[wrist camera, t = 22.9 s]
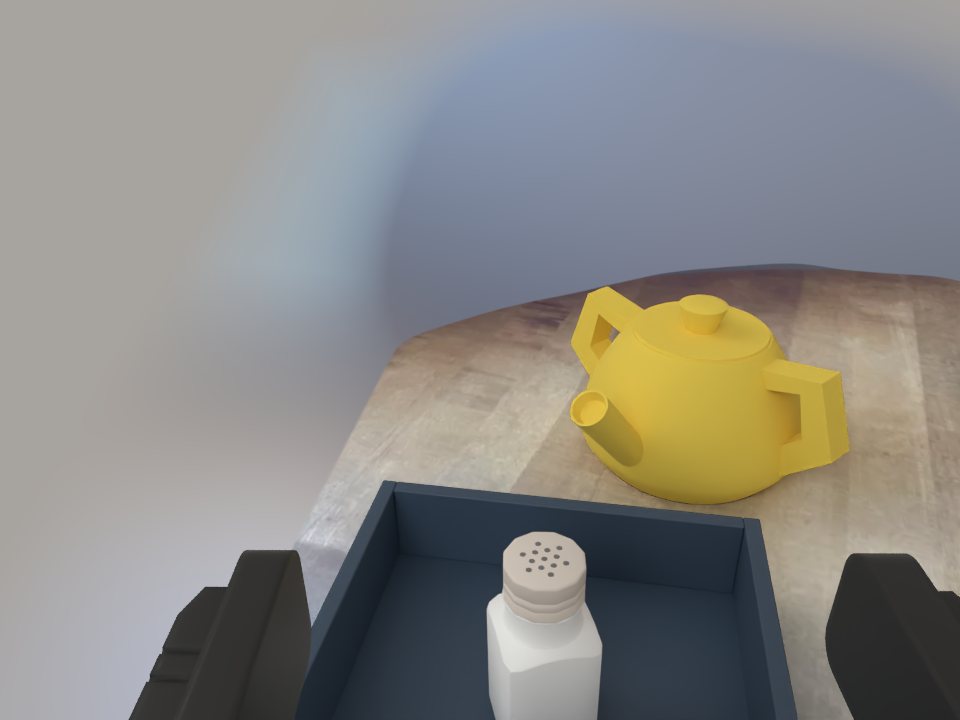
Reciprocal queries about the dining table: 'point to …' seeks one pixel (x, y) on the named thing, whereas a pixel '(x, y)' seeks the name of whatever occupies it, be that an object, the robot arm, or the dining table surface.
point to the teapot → (700, 399)
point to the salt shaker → (543, 634)
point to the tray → (608, 595)
